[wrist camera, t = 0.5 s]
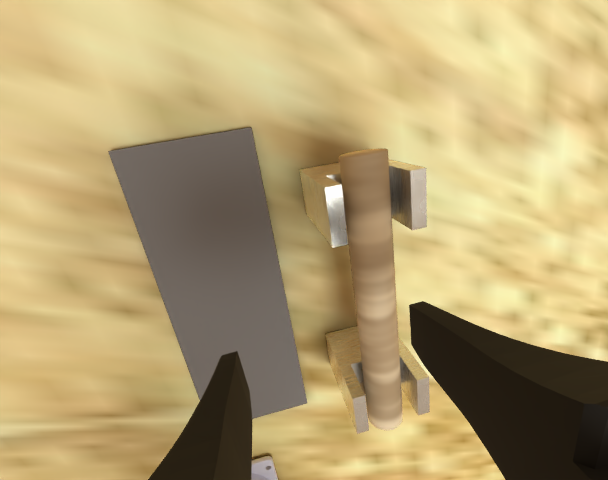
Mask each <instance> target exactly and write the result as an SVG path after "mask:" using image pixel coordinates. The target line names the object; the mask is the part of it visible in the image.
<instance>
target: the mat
mask: <svg viewBox="0 0 608 480" xmlns="http://www.w3.org/2000/svg"><path fill="white" fill-rule="evenodd" d="M108 152H109V155H110V157H111V160H112V163H113V166H114V168H115V171H116V174H117V176H118V179H119V182H120V185H121V187H122V190H123V193H124V195H125V198H126V201H127V204H128V206H129V209H130V212H131V214H132V217H133V220H134V223H135V225H136V228H137V231H138V234H139V236H140V239H141V242H142V244H143V247H144V250H145V253H146V255H147V258H148V261H149V263H150V266H151V269H152V272H153V274H154V277H155V280H156V282H157V285H158V288H159V291H160V293H161V296H162V299H163V301H164V304H165V307H166V310H167V312H168V315H169V318H170V320H171V323H172V326H173V329H174V331H175V334H176V337H177V339H178V342H179V345H180V348H181V350H182V353H183V356H184V358H185V361H186V364H187V367H188V369H189V372H190V375H191V377H192V380H193V383H194V386H195V388H196V391H197V394H198V397H199V399H200V400H201V398H202V396H203V394H204V392H205V390H206V388H207V386H208V384H209V382H210V380H211V378H212V375H213V373H214V371H215V369H216V366H217V364H218V361H219V359H220V357H221V356H222V355H225V354H228V353H232V352H236V351H238V354H239V358H240V361H241V364H242V367H243V371H244V374H245V377H246V380H247V384H248V387H249V390H250V399H251V409H252V419H253V418H257V417H260V416H264V415H267V414H271V413H274V412H278V411H282V410H285V409H289V408H292V407H296V406H299V405H303V404H306V403H307V399H306V394H305V389H304V384H303V379H302V374H301V370H300V365H299V360H298V355H297V350H296V345H295V340H294V335H293V330H292V325H291V320H290V315H289V310H288V306H287V301H286V296H285V291H284V286H283V281H282V276H281V271H280V266H279V261H278V256H277V251H276V247H275V242H274V237H273V232H272V227H271V222H270V217H269V212H268V207H267V202H266V197H265V192H264V187H263V183H262V178H261V173H260V168H259V163H258V158H257V153H256V148H255V143H254V138H253V133H252V128H251V127H249V128H243V129H238V130H232V131H226V132H220V133H214V134H208V135H202V136H196V137H190V138H184V139H178V140H172V141H166V142H160V143H154V144H148V145H142V146H136V147H130V148H124V149H118V150H112V151H108Z"/></svg>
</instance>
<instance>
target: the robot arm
mask: <svg viewBox="0 0 608 480" xmlns="http://www.w3.org/2000/svg"><path fill="white" fill-rule="evenodd" d="M409 308H410V326H411V344H412V346H413V348H414V349H415V351H416V353H417V355H418V356H419V358H420V359H421V361H422V363H423V364H424V366H425V367H426V368H427V370H428V371H429V372H430V374H431V375H432V376H433V377H434V379H435V380H436V381H437V382H438V384H439V385H440V386H441V387H442V389H443V390H444V391H445V392H446V394H447V395H448V396H449V397H450V399H451V400H452V401H453V402H454V404H455V405H456V406H457V407H458V409H459V410H460V411H461V412H462V414H463V415H464V416H465V418H466V419H467V420H468V422H469V423H470V425H471V426H472V428H473V429H474V431H475V432H476V434H477V435H478V437H479V438H480V440H481V441H482V443H483V444H484V446H485V447H486V449H487V451H488V452H489V454H490V455H491V457H492V458H493V460H494V462H495V463H496V465H497V466H498V468H499V470H500V471H501V473H502V474H503V476H504V478H505V479H506V480H608V362H606V361H600V360H595V359H589V358H584V357H579V356H574V355H570V354H565V353H561V352H557V351H553V350H549V349H545V348H541V347H537V346H534V345H530V344H527V343H524V342H521V341H518V340H515V339H511V338H508V337H506V336H503V335H500V334H497V333H495V332H492V331H490V330H487V329H484V328H482V327H480V326H477V325H475V324H472V323H470V322H468V321H466V320H463V319H461V318H459V317H457V316H454V315H452V314H450V313H448V312H446V311H444V310H441V309H439V308H437V307H435V306H433V305H431V304H428V303H426V302H423V301H422V302H418V303H415V304H411V305H409ZM148 480H278V477H277V473H276V469H275V466H274V462H273V459H272V457H270V456H265V457H262V458H259V459H255V460H252V409H251V399H250V390H249V387H248V384H247V380H246V377H245V374H244V371H243V367H242V364H241V361H240V358H239V354H238V351H236V352H232V353H228V354H225V355H222V356H221V357H220V359H219V361H218V364H217V366H216V369H215V371H214V373H213V375H212V378H211V380H210V382H209V384H208V386H207V388H206V390H205V392H204V394H203V396H202V398H201V400H200V402H199V404H198V406H197V408H196V409H195V411H194V413H193V415H192V416H191V418H190V420H189V422H188V423H187V425H186V427H185V428H184V430H183V432H182V433H181V435H180V436H179V438H178V439H177V441H176V442H175V444H174V445H173V447H172V448H171V450H170V451H169V453H168V454H167V455H166V457H165V458H164V459H163V461H162V462H161V464H160V465H159V466H158V468H157V469H156V470H155V471H154V473H153V474H152V475H151V477H150V478H149V479H148Z"/></svg>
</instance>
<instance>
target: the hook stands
mask: <svg viewBox="0 0 608 480" xmlns="http://www.w3.org/2000/svg"><path fill="white" fill-rule="evenodd" d="M388 162H389V180H390V197H391V215H392V218H393V219H395V220H396V221H398V222H400V223H401V224H403V225H405V226H406V227H408V228H410V229H411V230H415V229H420V228H424V227H427V201H426V168H425V167H420V166H416V165H411V164H407V163H402V162H398V161H393V160H389V159H388ZM300 177H301V183H302V189H303V196H304V202H305V208H306V214H307V215H308V217H309V218H310V219H311V221H312V222H313V223H314V224H315V226H316V227H317V228H318V230H319V231H320V232H321V233H322V235H323V236H324V237H325V239H326V240H327V241H328V243H329V244H330V245H331V246H332V248H334V247H339V246H343V245H348V238H347V229H346V217H345V208H344V199H343V190H342V181H341V172H340V163H339V162H337V163H332V164H327V165H321V166H316V167H311V168H305V169H300ZM325 335H326V341H327V347H328V354H329V360H330V365H331V367H332V370H333V372H334V375H335V378H336V380H337V383H338V385H339V388H340V390H341V393H342V396H343V398H344V401H345V403H346V406H347V409H348V411H349V414H350V416H351V419H352V422H353V424H354V427H355V429H356V432H357V434H358V433H361V432H365V431H368V430H369V425H368V416H367V407H366V398H365V387H364V378H363V369H362V360H361V351H360V342H359V333H358V326H354V327H350V328H346V329H342V330H338V331H334V332H330V333H327V334H325ZM398 340H399V357H400V375H401V388H402V390H403V392H404V393H405V395H406V397H407V398H408V400H409V401H410V403H411V405H412V406H413V408H414V409H415V411H416V413H417V414H418V415H421V414H424V413H428V412H429V376H428V375H427V374H426V372H425V371H424V370H423V369H422V367H421V366H420V365H419V363H418V362H417V361H416V359H415V358H414V357H413V355H412V354H411V353H410V351H409V350H408V349H407V347H406V346H405V345H404V343H403V342H402V341H401V340H400V338H399V337H398Z"/></svg>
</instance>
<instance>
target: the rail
mask: <svg viewBox="0 0 608 480" xmlns="http://www.w3.org/2000/svg"><path fill="white" fill-rule="evenodd" d="M339 163H340V172H341V181H342V190H343V199H344V208H345V217H346V226H347V235H348V244H349V253H350V262H351V271H352V279H353V288H354V297H355V306H356V315H357V324H358V333H359V342H360V351H361V360H362V369H363V378H364V387H365V396H366V405H367V414H368V418H369V421H370V422H371V423H372V424H373V425H374V426H375V427H377V428H379V429H382V430H393V429H395V428H397V427H398V426H399V425H400V424H401V422H402V420H403V411H402V393H401V375H400V357H399V340H398V322H397V304H396V286H395V268H394V251H393V233H392V215H391V197H390V180H389V162H388V150H387V149H367V150H360V151H354V152H349V153H345V154H342V155H340V156H339Z"/></svg>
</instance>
